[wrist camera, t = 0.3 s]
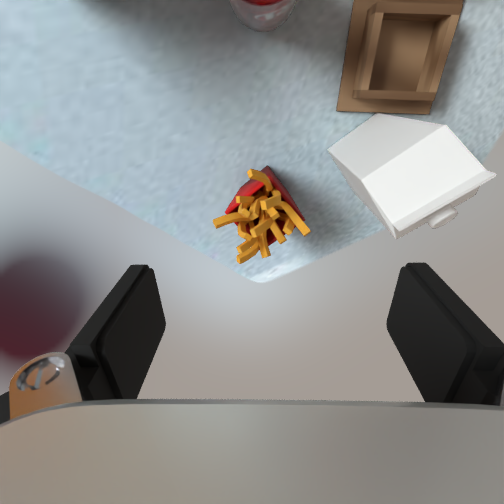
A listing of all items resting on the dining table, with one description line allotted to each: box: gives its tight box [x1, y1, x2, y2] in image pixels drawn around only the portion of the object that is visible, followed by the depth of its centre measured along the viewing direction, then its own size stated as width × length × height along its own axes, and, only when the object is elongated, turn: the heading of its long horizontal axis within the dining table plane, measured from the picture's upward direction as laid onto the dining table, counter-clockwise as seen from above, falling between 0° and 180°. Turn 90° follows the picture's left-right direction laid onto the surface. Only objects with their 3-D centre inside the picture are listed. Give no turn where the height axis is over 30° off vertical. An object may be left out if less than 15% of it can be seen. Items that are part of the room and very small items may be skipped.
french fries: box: [213, 165, 311, 264], centre depth 33 cm, size 9×8×15 cm
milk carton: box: [328, 113, 497, 239], centre depth 29 cm, size 7×7×19 cm
